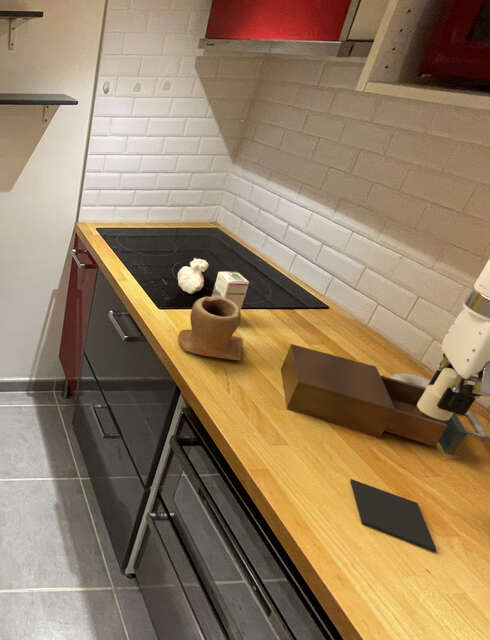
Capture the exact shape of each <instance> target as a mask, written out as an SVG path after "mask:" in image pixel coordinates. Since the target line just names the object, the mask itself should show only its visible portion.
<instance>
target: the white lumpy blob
mask: <svg viewBox="0 0 490 640" xmlns="http://www.w3.org/2000/svg"><path fill="white" fill-rule="evenodd" d="M189 265H190V266H187V265H185V266H182V267H181V268H180V269H179V271H178V272H177V285H178V286H179V288H180V289H181V290H182V291H183V292H186V293H187V294H189V295H193V294H195V293H196V292H199V291H201V290H202V288H204V282H205V280H204V279H205V278H204V275H203V273H204V272H205V271H206V270H207V269H208V268H209V267H210V266H209V263H208V262H207V260H205V259H201V258H197V257H194V258H193V260H192V261H190V262H189ZM202 272H203V273H202Z"/></svg>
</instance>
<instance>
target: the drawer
mask: <svg viewBox="0 0 490 640" xmlns="http://www.w3.org/2000/svg"><path fill="white" fill-rule="evenodd" d="M380 376H381V379H382V381H383V383H384V385H385V388H386V390H387V392H388V394H389V396H390V399H391V401H392V403H393V405H394V408H395V412H394V414H393V415H392V417H391V419H390V421H389V422H388V424H387V426H386V428H385V430H384V431H383V432H387V433H391V434H393V435H397V436H400V437H403V438H406V439H409V440H412V441H417V442H419V443H422V444H426V445H429V446H431V447H435V446H436V445H437V444H438V443H439V445H440V447H441V449H442V451H443V453H444V454H445V455H450V456H455V453H456V452H457V451H458V449H459V447H461V445H462V443H463V442H464V440H465V439H466V437H467V436H471V437H475V438H478V439H480V441H481V442H484V443H490V434H489V433H488V432H487V430H486V429H485V426H483V424H482V423H481V421H480V419H479V418H478V417H477V415H476V413H475V412H472V411H467V413H466V414H465V415H459V414H456V413H453V414H452V416H451V418H450V419H449V420H445V421H444V420H438V419H435V418H433V417H430V416H428V415H426V414H425V413H423V414H424V416H425V417H424V416H423V414H422V412H421V410H420V409H419V408H418V407H417V403H418V402H419V400H420V398H421V397H422V395H423V393H424V391H425V390H426V388H425V387H421V386H418V385H414V384H410V383H407V382H403V381H399V380H396V379H392V378H391V377H388V376H385V375H381V374H380ZM458 416H461V417H465V418H466V419H467V421H468V422H469V424H470V425H471V427H472V428H473V430H474V431H473V430H472V431H471V430H468V429H466V428H465V427H464V425H463V423H462V422H461V420H460V418H459V417H458Z"/></svg>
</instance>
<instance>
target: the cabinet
mask: <svg viewBox="0 0 490 640" xmlns="http://www.w3.org/2000/svg"><path fill="white" fill-rule="evenodd" d="M280 373H281V379H282V381H281V382H282V386H283V394H284V399H285V400H284V401H285V406H286V407H285V408H286V409H287V410H290V411H294V412H296V413H299V414H301V415H305V416H308V417H311V418H315V419H318V420H320V421H324V422H327V423H331V424H333V425H337V426H340V427H342V428H346V429H348V430H352V431H354V432H355V431H356V432H358V433H362V434H365V435H368V436H371V437H374V438H377V439H380V438H381V437H382V435H383V433H384V432H385V431H384V430H385V428H386V426H387V424H388V422H389V421H390V419H391V417H392V415H393V414H394V412H395V408H394V405H393V403H392V401H391V399H390V396H389V394H388V392H387V390H386V388H385V385H384V383H383V381H382V379H381V376H382V375H381V374H380V372H379V370H378V368H377V366H376V365H372V364H368V363H364V362H361V361H357V360H354V359H349V358H345V357H342V356H337V355H335V354H332V353H331V354H330V353H326V352H323V351H318V350H315V349H312V348H308V347H304V346H301V345H296V344H294V343H293V344H292V343H291V344H290V346H289V347H288V351H287V353H286V356H285V358H284V360H283V363H282V365H281V368H280ZM380 375H381V376H380Z"/></svg>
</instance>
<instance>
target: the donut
mask: <svg viewBox="0 0 490 640" xmlns="http://www.w3.org/2000/svg"><path fill="white" fill-rule="evenodd" d="M390 378H392V379H396V380H399V381H403V382H407V383H410V384H414V385H418V386H421V387H425V388H427V386H428V384H429V383H430V381H431V379H428V378H426V377H423V376H420V375H417V374H413V373H407V372H399V373H394V374H392V376H390Z"/></svg>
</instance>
